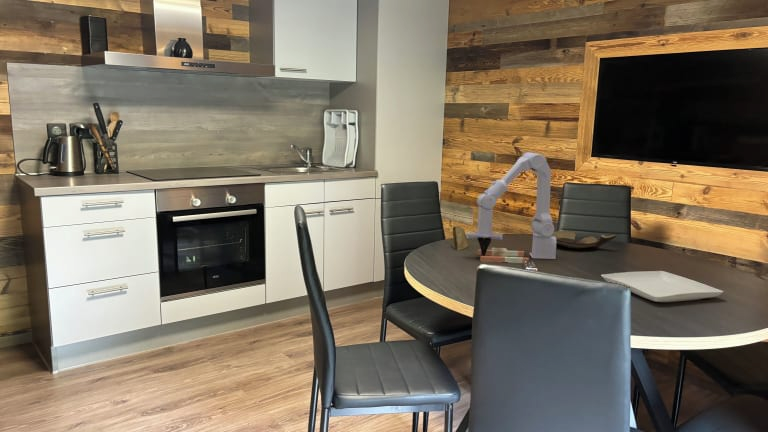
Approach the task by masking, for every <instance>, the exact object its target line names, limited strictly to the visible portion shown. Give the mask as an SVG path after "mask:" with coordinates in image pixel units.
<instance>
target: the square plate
mask: <svg viewBox="0 0 768 432" xmlns="http://www.w3.org/2000/svg"><path fill="white" fill-rule="evenodd" d="M600 276H601V277H602V278H603V279H604V280H605V281H606V282H607V283H609V282H612V283H617V284H621V285H625V286H627V287H630V289H631V291H632V292H631V293H632V294H634V295H637V296H640V297H641V298H644V299H647V300H650V301H652V302H656V303H657V302H658V303H672V302H684V301H696V300H703V299H709V298H710V299H711V298H715V297H718V296H720V295H722V294H723V293H724V292H725V291H724V290H721V289H718V288H716V287H713V286H711V285H707V284H705V283H701V282H698V281H696V280H693V279H689V278H687V277H684V276H680V275H677V274H674V273H670V272H668V271H664V270H654V271H651V270H650V271H648V270H647V271H626V272H614V273H606V274H605V273H604V274H601V275H600Z"/></svg>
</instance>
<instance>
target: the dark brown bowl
mask: <svg viewBox="0 0 768 432" xmlns="http://www.w3.org/2000/svg"><path fill="white" fill-rule="evenodd" d="M551 236H553V237H556V244H558V245H560V246H561V247H566V248H569V249H585V248H586V249H587V248H590V247H591V248H592V247H595V248H599V247H602V246H604V245H605V244H606V243H609V242H610V241H612V240H614V239H615V238H616V237H617V235H616V234H613V235H609V236H606V235H604V234H600V239H598V238H597V237H595V236H593V235H591V236H586V237H584V238H582V239H580V240H579V241H576V236H577V233H576V232H574V231H566V230H554V232H553V234H552V235H551Z"/></svg>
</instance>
